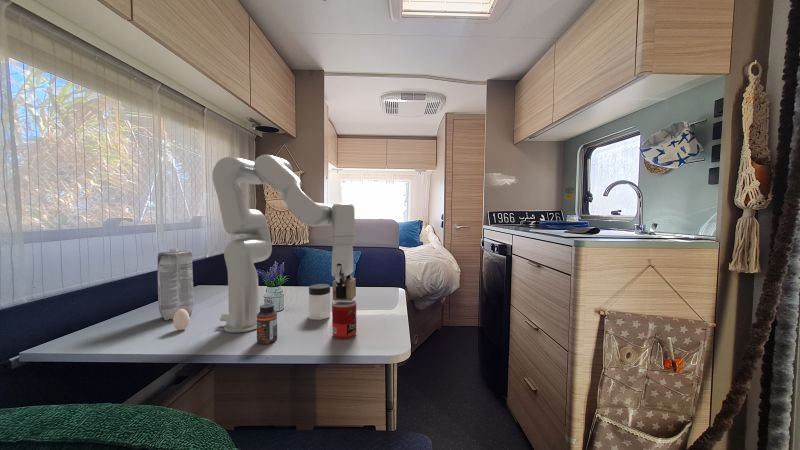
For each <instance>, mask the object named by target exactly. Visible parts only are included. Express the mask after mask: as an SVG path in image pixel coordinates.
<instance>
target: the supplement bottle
mask: <svg viewBox="0 0 800 450" xmlns="http://www.w3.org/2000/svg"><path fill="white" fill-rule="evenodd" d="M277 339H278V312H277V311H276V310H275V306H274V304H273V303H265V304H261V305H259V313H258V314H257V329H256V342H257V343H258V344H260V345H268V344H272V343H274V342H276V341H277Z"/></svg>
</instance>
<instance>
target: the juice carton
mask: <svg viewBox="0 0 800 450" xmlns="http://www.w3.org/2000/svg"><path fill="white" fill-rule="evenodd" d="M168 249H169V250H168V252H167V251H164V252H161V251H160V252H159V253H158V254H157V264H156V265H157V294H158V295H157V296H158V297H157V300H158V309H159V313H160V317H161V318H162V317H163V318H164V319H163V318H162V319H163V320H164V321H165V320H167V321H170V320H169V319H172V320H173V318H174V315H175V313H176V312H177V311H178V310H179V309H184V310H186V311H187V312H188V314H189V315H191V316H192V314H193V309H194V277H193V276H194V273H193V255H192V252H190V251H188V250H180V251H179V247H178V248H168Z"/></svg>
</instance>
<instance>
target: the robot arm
mask: <svg viewBox="0 0 800 450" xmlns="http://www.w3.org/2000/svg"><path fill="white" fill-rule="evenodd" d="M293 170H294V169H293V167H292V165H291V163H290V162H289V161H288V160H286V159H284V158H282V157H278V156H275V155H271V154H261V155H260V156H258V157H256V159H254V160H249V159H246V158H242V157H237V156H226V157H225V156H224V157H221V158H220V159H218V161H217V162H216V163H215V165H214V167H213V169H212V176H211V177H212V182H213V186H214V189H215V192H216V195H217V198H218V199H217V200H218V205H219V209H220V215H221V221H222V224H223V228H224V230H225V232H226V233H227V234H228V235H231V236H232V235H233V236H241V235H242V236H243V235H244V236H246V237H243V238H236V239H234V240H231V241H230V242H228V243H227V244H226V246H225V248H224V251H223V256H224V257H223V258H224V261H225V266H226V271H227V286H228V290H227V293H228V296H227V297H228V313H222V314H221V316H220V318H219V321H220V322H225V325H223V326H224V327H223V330H224V332H226V333H233V334H234V333H235V334H237V333H238V334H239V333H246V332H251V331H255V330H257V314H258V313H259V312H260V303H259V300H260V298H259V296H260V295H259V274H258V271H257V269H256V266H255V263H259V262H263V261H266V260H268V259H269V258H270V256H271V254H272V251H273V246H272V241H271V235H270V231H269V226H268V221H267V218H266V216H265V215H264V213H262V212H261V211H260V210H259V209H254V208H249V206H248V204H247V199H246V196H245V192H244V191H243V190H242V188H241V187H240V185H239V183H241V184H242V183H243V184H249V185H266V184H267V185H269V186H270V187H271V188H272V189H273V190H275V192H276V193H277V194H279V195H280V196H281V197H282V201H283V203H284V204H285V207H286V208H287V210H288V211H289V212H291V214H292V215H294V216H295V217H296V218H297V219H298V220H299V221H300V222H302V223H303V224H305V225H306V226H309V227H325V226H326V227H327V226H331V247H332V252H331V253H332V254H331V276H332V278H334V279H335V280H336V298H337V299H346V286H345V281H346V278H353V275H352V273H353V272H354V265H355V264H354V248H353V247H354V246H356V229H355V228H356V227H355V224H356V222H355V221H356V220H355V213H356V212H355V206H354V205H353V204H352V203H346V202H345V203H334V204H329V203H322V202H315V201H314V200H313V199H311V198H310V197H309V196H308V195H307V194H306V193H305V192H304V191H302V185H303V184H302V179H301V178H300V177H299V176H297V175H296V174H295V173H294V172H293ZM342 279H343V281H342Z"/></svg>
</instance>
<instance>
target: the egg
mask: <svg viewBox="0 0 800 450" xmlns="http://www.w3.org/2000/svg"><path fill="white" fill-rule="evenodd" d="M190 320H191V318H190V316H189V314H188V312H187V311H186V310H184V309H179V310H178V311H177V312H176V313H175V315H174V318H173V319H172V323H173V326H174V328H175V329H176V330H178V331H184V330H186V328H187V327H188V326H189V324H190Z"/></svg>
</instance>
